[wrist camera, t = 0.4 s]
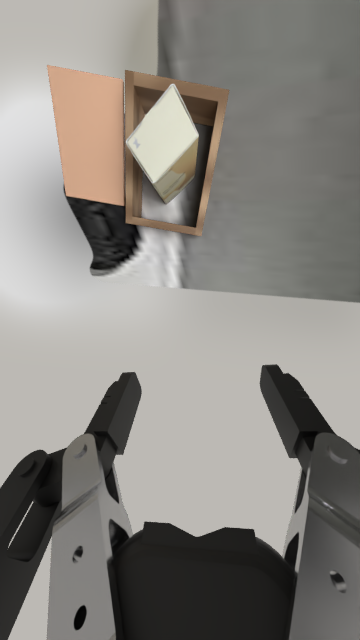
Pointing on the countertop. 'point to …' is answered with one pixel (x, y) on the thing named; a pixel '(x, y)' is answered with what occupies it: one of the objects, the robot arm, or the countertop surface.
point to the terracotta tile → (90, 133)
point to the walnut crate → (203, 109)
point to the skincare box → (166, 145)
